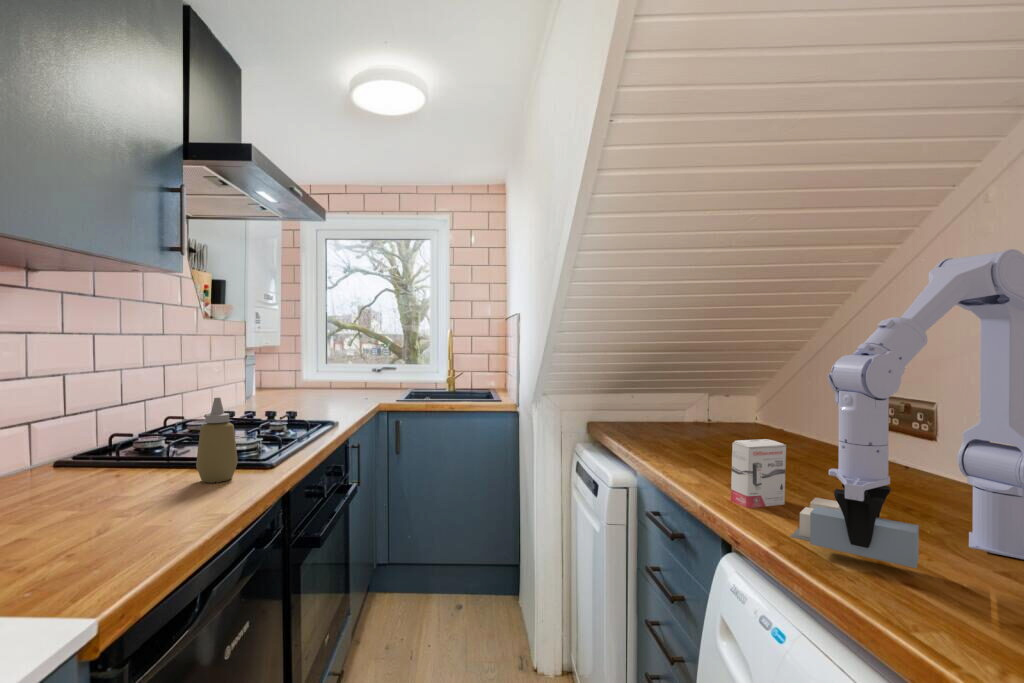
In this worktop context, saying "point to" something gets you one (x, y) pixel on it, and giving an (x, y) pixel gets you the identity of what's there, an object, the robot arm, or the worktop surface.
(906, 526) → the lintel
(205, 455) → the squeeze bottle
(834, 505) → the post
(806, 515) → the post
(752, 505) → the ink box
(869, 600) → the worktop surface
